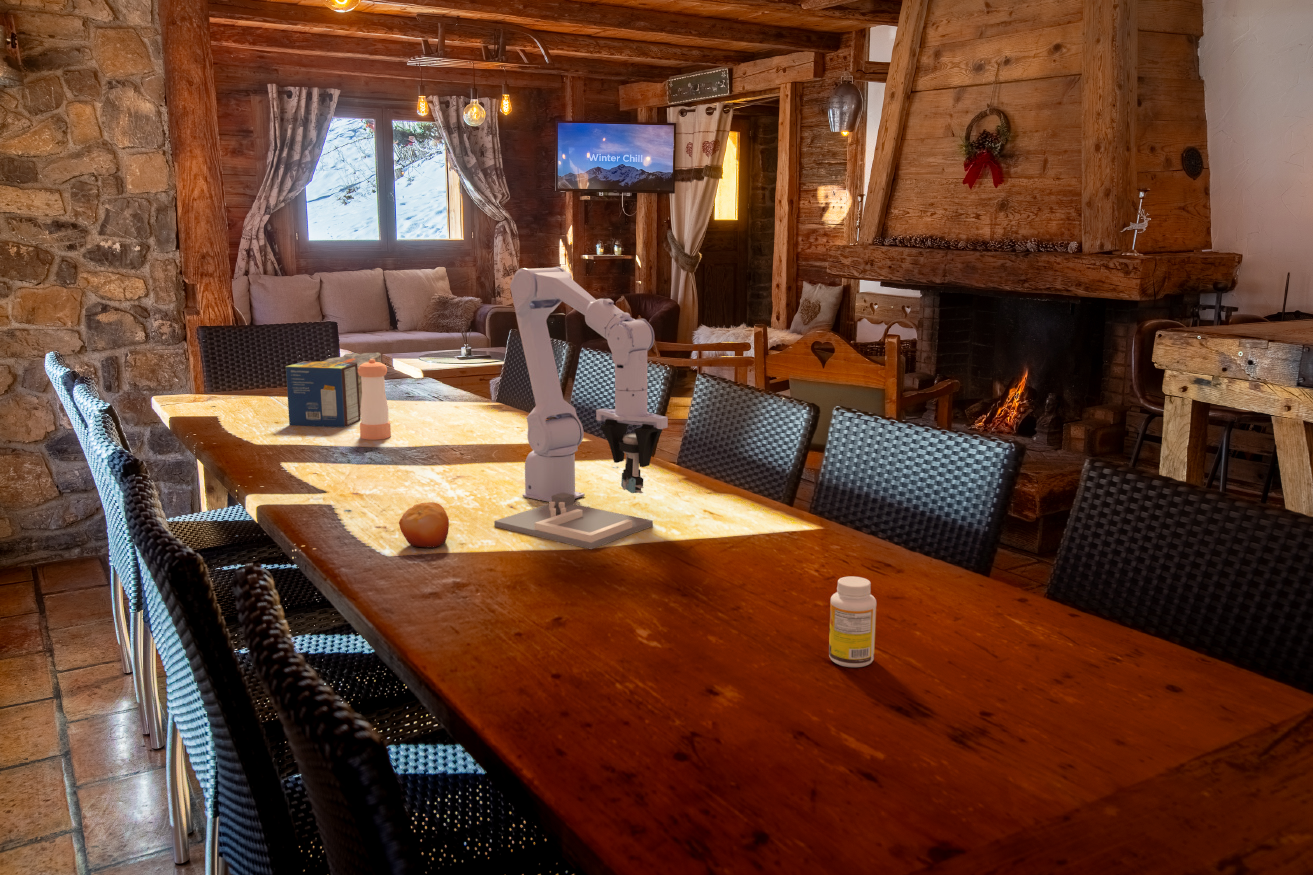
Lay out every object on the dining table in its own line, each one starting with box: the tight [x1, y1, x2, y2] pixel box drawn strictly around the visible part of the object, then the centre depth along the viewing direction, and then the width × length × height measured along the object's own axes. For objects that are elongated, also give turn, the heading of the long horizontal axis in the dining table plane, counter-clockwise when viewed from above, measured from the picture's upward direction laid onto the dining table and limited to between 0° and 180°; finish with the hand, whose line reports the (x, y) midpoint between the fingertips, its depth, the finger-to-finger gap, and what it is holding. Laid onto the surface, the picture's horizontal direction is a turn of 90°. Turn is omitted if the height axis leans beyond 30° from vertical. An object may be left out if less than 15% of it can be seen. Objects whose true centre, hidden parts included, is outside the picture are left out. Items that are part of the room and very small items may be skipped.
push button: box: [618, 433, 644, 494], centre depth 194 cm, size 7×5×10 cm
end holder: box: [535, 509, 632, 543], centre depth 186 cm, size 12×11×1 cm
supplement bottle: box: [828, 575, 877, 668], centre depth 133 cm, size 6×6×10 cm
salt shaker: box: [358, 359, 392, 441], centre depth 265 cm, size 7×7×19 cm
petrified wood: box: [321, 352, 383, 409], centre depth 308 cm, size 19×17×15 cm
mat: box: [493, 503, 654, 550], centre depth 191 cm, size 22×17×1 cm
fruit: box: [398, 501, 450, 549], centre depth 180 cm, size 8×8×8 cm
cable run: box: [548, 493, 576, 517], centre depth 198 cm, size 4×11×2 cm, turn 175°
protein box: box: [285, 360, 361, 428], centre depth 283 cm, size 10×15×16 cm
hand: (631, 463), depth 194 cm, fingers closed on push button, 5 cm apart
